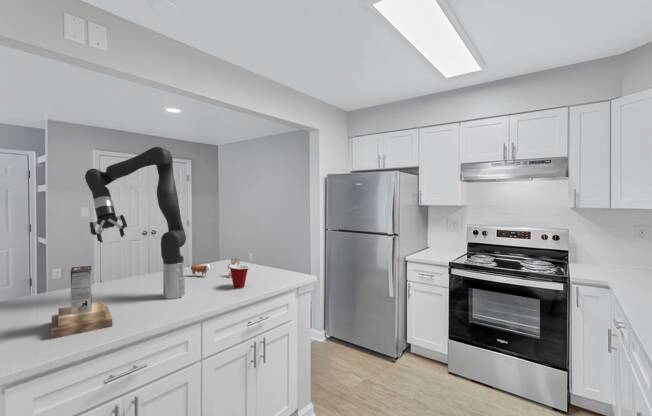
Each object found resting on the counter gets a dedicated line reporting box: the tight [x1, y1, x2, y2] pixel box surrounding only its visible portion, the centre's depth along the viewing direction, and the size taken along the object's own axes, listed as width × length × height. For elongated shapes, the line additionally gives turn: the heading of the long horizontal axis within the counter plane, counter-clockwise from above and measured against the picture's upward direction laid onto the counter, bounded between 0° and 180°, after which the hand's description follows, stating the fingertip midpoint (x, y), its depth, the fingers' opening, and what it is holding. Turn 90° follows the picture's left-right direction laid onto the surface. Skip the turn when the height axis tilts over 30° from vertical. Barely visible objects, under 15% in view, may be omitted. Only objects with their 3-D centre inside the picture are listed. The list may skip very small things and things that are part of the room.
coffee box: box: [70, 265, 93, 314], centre depth 123 cm, size 9×6×16 cm
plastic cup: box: [229, 264, 250, 289], centre depth 178 cm, size 11×11×12 cm
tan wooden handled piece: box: [225, 257, 240, 279], centre depth 202 cm, size 9×4×12 cm, turn 136°
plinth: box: [50, 301, 113, 340], centre depth 124 cm, size 18×18×6 cm
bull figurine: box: [190, 263, 211, 278], centre depth 200 cm, size 4×13×8 cm, turn 78°
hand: (111, 239), depth 149 cm, fingers open, 8 cm apart
